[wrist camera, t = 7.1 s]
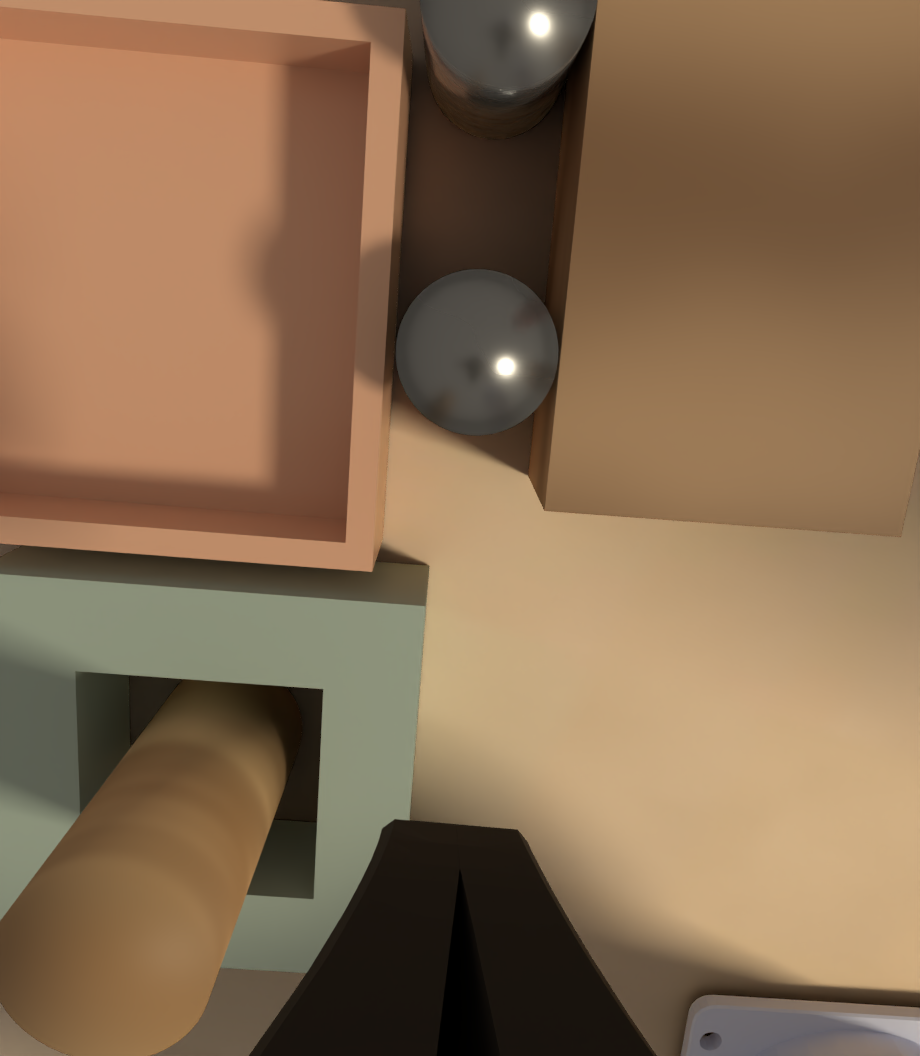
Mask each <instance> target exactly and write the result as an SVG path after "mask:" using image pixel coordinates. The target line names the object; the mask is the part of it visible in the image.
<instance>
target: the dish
mask: <svg viewBox="0 0 920 1056" xmlns="http://www.w3.org/2000/svg"><path fill="white" fill-rule="evenodd" d="M412 61H413V54H412V47H411V41H410V34H409V27H408V21H407V14H406V9H405V8H395V7H385V6H374V5H364V4H354V3H343V2H333V1H322V0H0V543H1V544H14V545H27V546H41V547H54V548H67V549H80V550H93V551H106V552H119V553H132V554H145V555H158V556H171V557H184V558H197V559H210V560H223V561H236V562H249V563H262V564H275V565H288V566H301V567H314V568H327V569H340V570H353V571H367V572H372V571H373V568H374V565H375V562H376V558H377V555H378V552H379V549H380V546H381V543H382V540H383V528H384V512H385V496H386V479H387V463H388V447H389V431H390V415H391V399H392V383H393V367H394V351H395V335H396V319H397V302H398V286H399V270H400V254H401V238H402V222H403V206H404V190H405V174H406V158H407V141H408V125H409V109H410V93H411V77H412Z"/></svg>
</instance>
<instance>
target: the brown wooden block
mask: <svg viewBox="0 0 920 1056" xmlns="http://www.w3.org/2000/svg"><path fill="white" fill-rule="evenodd" d="M545 307H546V308H547V310H548V312H549V314H550V316H551V318H552V321H553V323H554V326H555V329H556V334H557V339H558V349H559V352H558V364H557V370H556V374H555V377H554V381H553V383H552V385H551V388H550V390H549V392H548V394H547V395H546V397H545V398H544V400H543V401H542V403H541V404H540V405H539V406H538V408H537V409H536V410H535V411H534V421H533V432H532V442H531V452H530V462H529V472H528V476H529V478H530V481H531V483H532V485H533V487H534V489H535V491H536V494H537V496H538V498H539V500H540V502H541V504H542V506H543V509H544V511H554V512H568V513H581V514H595V515H609V516H622V517H636V518H649V519H663V520H677V521H690V522H704V523H718V524H731V525H745V526H758V527H772V528H786V529H799V530H813V531H827V532H840V533H854V534H867V535H881V536H895V537H901V534H902V529H903V525H904V520H905V515H906V511H907V506H908V502H909V497H910V492H911V488H912V483H913V478H914V474H915V469H916V465H917V460H918V455H919V451H920V0H598V1H597V7H596V11H595V15H594V18H593V21H592V24H591V26H590V28H589V31H588V33H587V35H586V37H585V40H584V42H583V44H582V46H581V48H580V50H579V52H578V55H577V57H576V59H575V61H574V63H573V65H572V67H571V69H570V72H569V74H568V76H567V85H566V95H565V105H564V115H563V126H562V136H561V146H560V156H559V166H558V177H557V187H556V197H555V207H554V217H553V228H552V238H551V248H550V258H549V268H548V279H547V289H546V299H545Z"/></svg>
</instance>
